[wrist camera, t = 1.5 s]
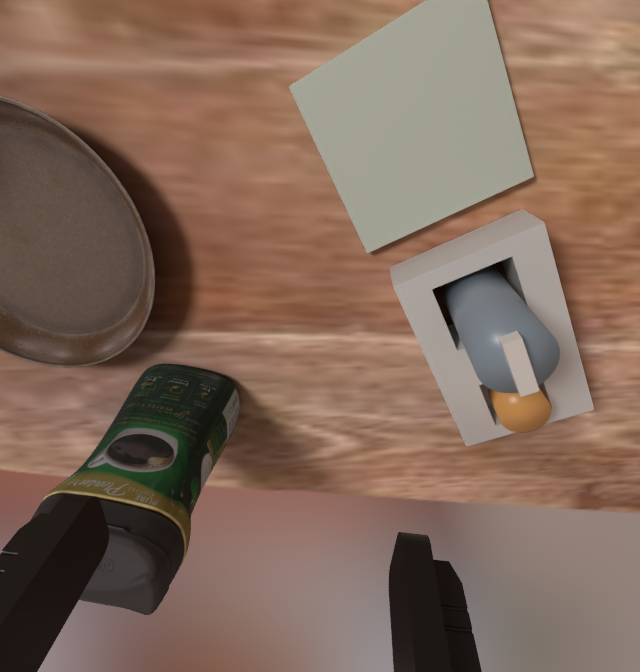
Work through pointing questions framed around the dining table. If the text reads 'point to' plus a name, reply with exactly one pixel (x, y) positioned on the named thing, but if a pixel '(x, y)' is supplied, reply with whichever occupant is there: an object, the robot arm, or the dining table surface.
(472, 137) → the pad
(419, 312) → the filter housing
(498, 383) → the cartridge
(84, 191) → the plant saucer
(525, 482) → the dining table surface
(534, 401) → the orange rounded piece
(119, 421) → the coffee jar
